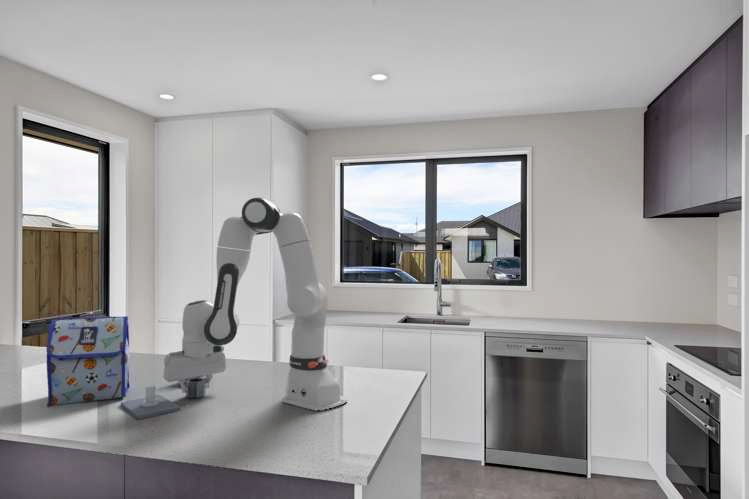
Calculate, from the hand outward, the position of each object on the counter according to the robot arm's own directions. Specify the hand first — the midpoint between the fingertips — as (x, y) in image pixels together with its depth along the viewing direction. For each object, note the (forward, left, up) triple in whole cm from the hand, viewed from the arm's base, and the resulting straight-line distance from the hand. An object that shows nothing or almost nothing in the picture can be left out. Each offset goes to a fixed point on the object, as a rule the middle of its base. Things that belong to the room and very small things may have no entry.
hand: (195, 389), depth 154 cm
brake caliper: (+17, -7, -3) cm, 18 cm away
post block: (-2, +15, -2) cm, 15 cm away
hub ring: (0, 0, -2) cm, 2 cm away
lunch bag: (+21, +26, -3) cm, 34 cm away
